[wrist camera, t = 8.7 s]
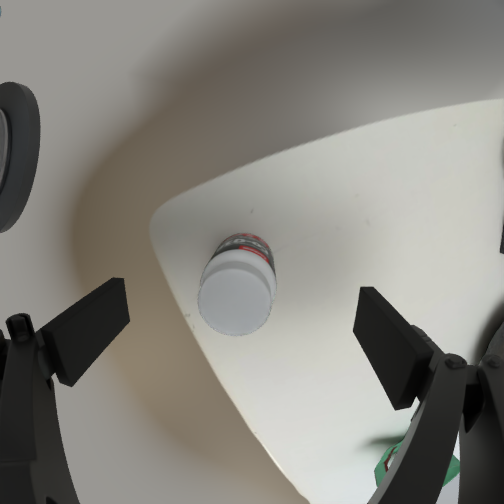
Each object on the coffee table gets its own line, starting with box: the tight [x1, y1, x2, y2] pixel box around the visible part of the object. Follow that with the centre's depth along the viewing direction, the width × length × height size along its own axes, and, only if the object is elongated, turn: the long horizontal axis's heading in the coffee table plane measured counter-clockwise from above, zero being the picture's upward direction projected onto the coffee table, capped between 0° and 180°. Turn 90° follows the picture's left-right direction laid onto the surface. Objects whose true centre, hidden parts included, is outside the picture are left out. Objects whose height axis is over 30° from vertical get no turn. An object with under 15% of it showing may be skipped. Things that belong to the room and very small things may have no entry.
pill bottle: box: [198, 233, 277, 336], centre depth 18 cm, size 5×5×8 cm
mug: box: [374, 439, 460, 487], centre depth 24 cm, size 15×10×10 cm
